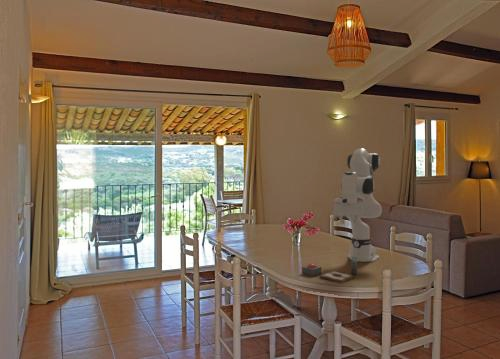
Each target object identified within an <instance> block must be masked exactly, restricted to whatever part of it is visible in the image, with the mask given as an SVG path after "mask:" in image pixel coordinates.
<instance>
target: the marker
mask: <svg viewBox="0 0 500 359" xmlns="http://www.w3.org/2000/svg"><path fill="white" fill-rule="evenodd" d="M350 260H351V261H350V262H351V270H350V271H351V272H350V275H354V277H355V276H358V261H357V257H351V259H350Z"/></svg>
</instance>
